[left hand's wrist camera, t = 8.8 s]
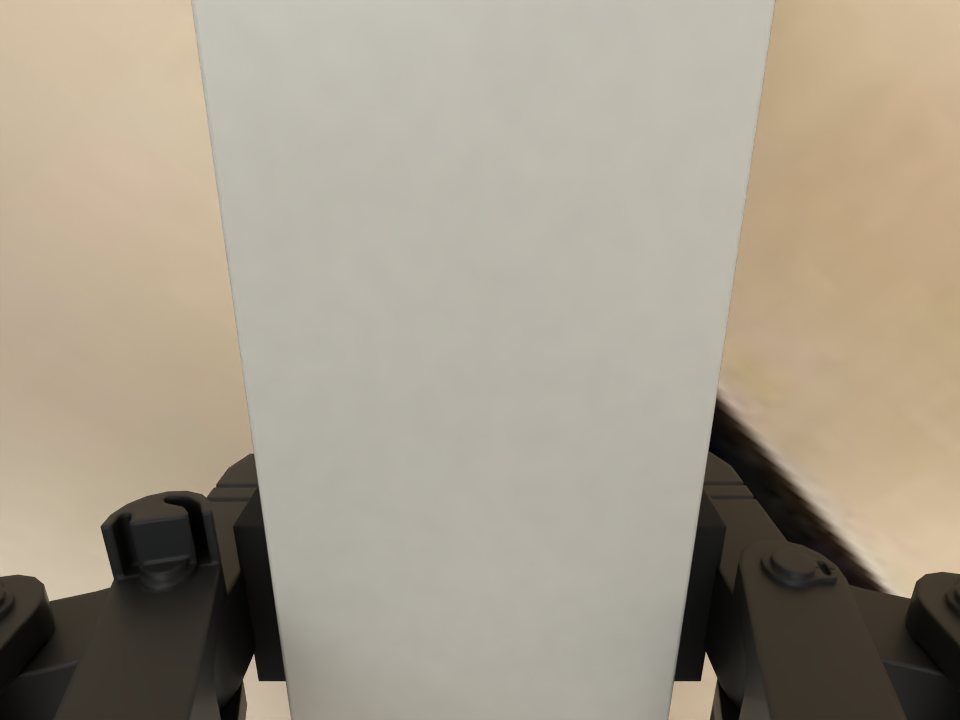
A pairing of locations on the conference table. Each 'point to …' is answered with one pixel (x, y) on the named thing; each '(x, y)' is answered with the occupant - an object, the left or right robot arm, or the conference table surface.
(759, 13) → the post
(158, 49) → the conference table surface
